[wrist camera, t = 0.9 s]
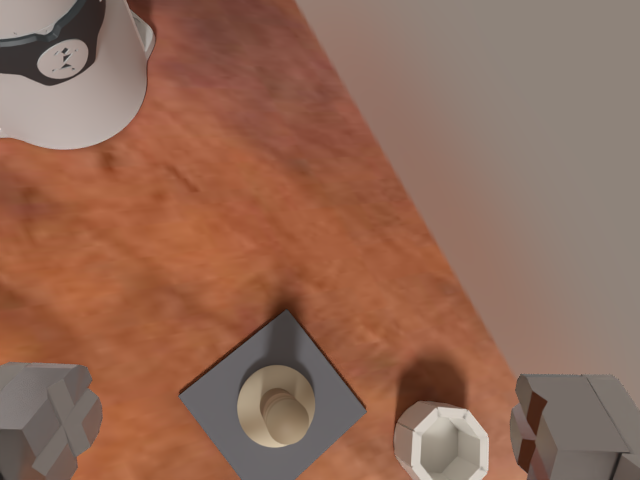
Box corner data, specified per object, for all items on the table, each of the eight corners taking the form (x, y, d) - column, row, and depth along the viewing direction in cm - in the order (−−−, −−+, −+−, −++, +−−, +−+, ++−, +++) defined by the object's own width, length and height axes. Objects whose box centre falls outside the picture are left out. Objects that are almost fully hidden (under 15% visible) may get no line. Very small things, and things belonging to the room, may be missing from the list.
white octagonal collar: (378, 436, 43) (395, 447, 39) (431, 385, 45) (452, 390, 40) (426, 497, 43) (448, 515, 38) (477, 443, 44) (503, 455, 40)
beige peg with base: (221, 399, 41) (219, 416, 32) (282, 349, 42) (295, 352, 34) (268, 462, 40) (279, 496, 32) (328, 408, 42) (353, 427, 33)
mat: (178, 395, 40) (178, 396, 40) (286, 309, 44) (286, 308, 43) (263, 507, 40) (263, 508, 39) (365, 411, 43) (367, 411, 43)
